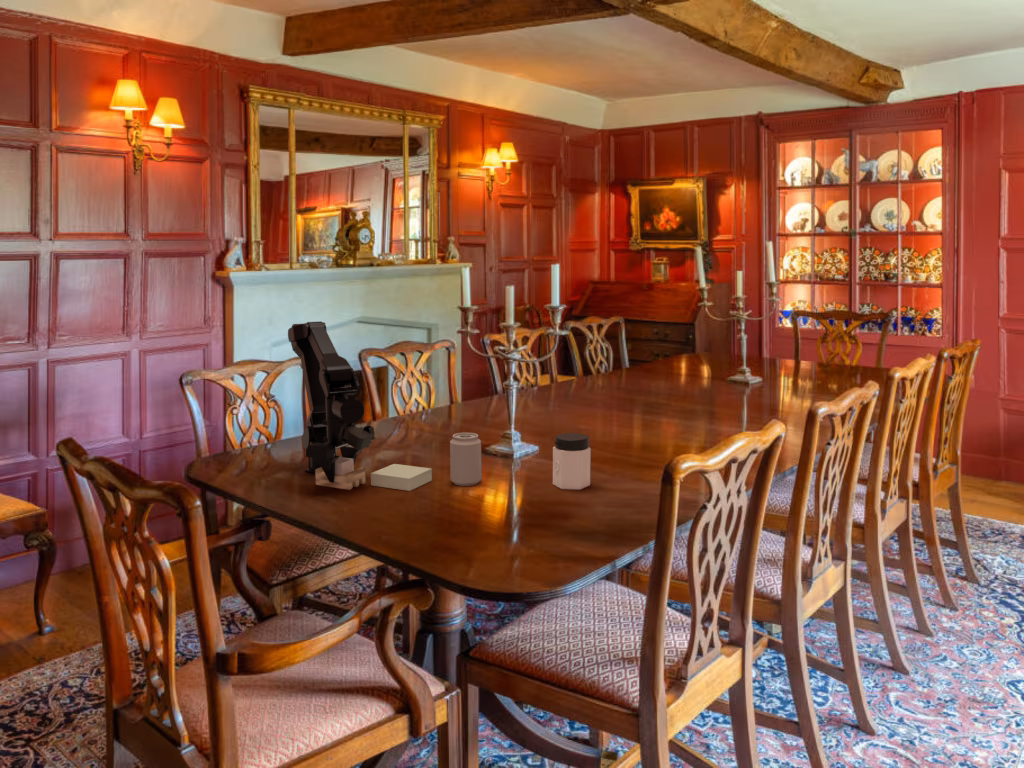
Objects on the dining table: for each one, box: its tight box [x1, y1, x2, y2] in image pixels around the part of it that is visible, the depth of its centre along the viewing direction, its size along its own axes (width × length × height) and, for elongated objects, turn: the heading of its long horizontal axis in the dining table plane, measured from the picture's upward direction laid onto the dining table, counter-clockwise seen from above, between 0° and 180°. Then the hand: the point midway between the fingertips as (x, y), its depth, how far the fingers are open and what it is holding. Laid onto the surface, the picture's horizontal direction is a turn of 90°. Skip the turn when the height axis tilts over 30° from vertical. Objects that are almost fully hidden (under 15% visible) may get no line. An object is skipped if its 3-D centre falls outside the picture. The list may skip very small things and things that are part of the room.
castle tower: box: [314, 467, 366, 491], centre depth 206 cm, size 10×6×4 cm, turn 64°
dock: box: [370, 463, 433, 492], centre depth 207 cm, size 11×10×3 cm
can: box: [449, 432, 482, 487], centre depth 206 cm, size 8×8×12 cm
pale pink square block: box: [335, 456, 355, 475], centre depth 206 cm, size 5×5×3 cm
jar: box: [552, 432, 592, 491], centre depth 204 cm, size 9×8×12 cm
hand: (340, 478), depth 206 cm, fingers closed on castle tower, 6 cm apart
